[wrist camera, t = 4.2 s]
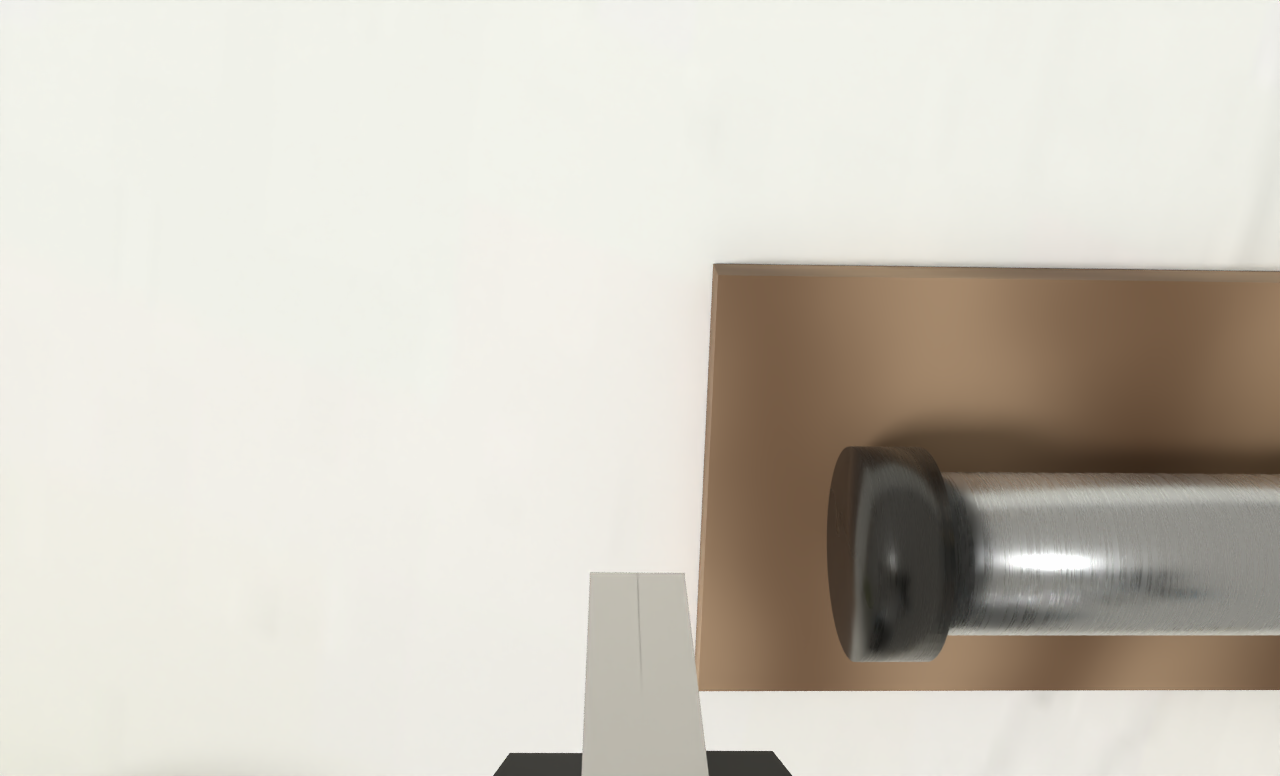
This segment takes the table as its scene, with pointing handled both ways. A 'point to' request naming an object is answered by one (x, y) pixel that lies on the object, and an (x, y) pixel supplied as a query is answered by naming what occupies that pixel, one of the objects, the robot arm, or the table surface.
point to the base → (965, 445)
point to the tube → (1043, 554)
